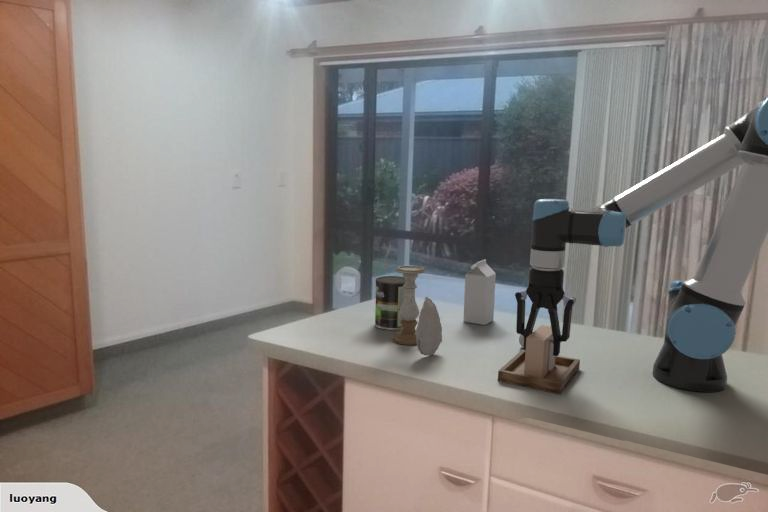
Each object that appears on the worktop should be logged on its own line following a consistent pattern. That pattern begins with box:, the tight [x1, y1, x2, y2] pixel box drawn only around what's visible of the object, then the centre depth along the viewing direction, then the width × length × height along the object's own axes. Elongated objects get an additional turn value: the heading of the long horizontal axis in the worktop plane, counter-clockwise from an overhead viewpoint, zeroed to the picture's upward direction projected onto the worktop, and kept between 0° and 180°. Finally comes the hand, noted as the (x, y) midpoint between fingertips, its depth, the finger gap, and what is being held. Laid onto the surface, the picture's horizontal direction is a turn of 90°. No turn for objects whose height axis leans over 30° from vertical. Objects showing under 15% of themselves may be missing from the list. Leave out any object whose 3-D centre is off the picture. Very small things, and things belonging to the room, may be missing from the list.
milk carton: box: [463, 258, 497, 326], centre depth 178 cm, size 7×7×19 cm
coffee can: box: [374, 275, 405, 331], centre depth 172 cm, size 10×10×14 cm
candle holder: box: [392, 265, 425, 346], centre depth 157 cm, size 9×9×20 cm
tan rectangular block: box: [524, 325, 556, 378], centre depth 134 cm, size 4×12×9 cm, turn 149°
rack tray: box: [497, 348, 581, 395], centre depth 135 cm, size 14×18×2 cm
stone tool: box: [415, 296, 443, 356], centre depth 146 cm, size 9×3×15 cm, turn 140°
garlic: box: [518, 331, 534, 349], centre depth 154 cm, size 6×5×5 cm
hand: (540, 366), depth 135 cm, fingers open, 4 cm apart
